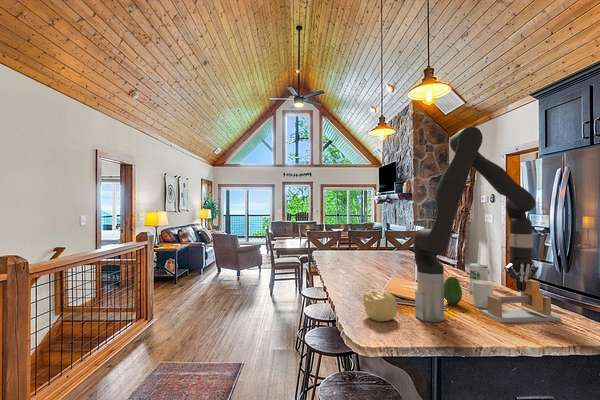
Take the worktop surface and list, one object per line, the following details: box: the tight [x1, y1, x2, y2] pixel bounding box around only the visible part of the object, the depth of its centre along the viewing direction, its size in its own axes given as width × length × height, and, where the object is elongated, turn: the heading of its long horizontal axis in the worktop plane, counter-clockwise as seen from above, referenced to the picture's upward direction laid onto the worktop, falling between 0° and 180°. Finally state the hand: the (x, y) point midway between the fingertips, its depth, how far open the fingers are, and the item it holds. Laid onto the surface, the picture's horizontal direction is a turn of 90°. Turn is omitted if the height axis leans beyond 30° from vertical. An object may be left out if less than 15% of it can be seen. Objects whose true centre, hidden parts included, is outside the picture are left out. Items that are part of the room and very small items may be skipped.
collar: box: [520, 279, 544, 311], centre depth 125 cm, size 3×7×10 cm, turn 6°
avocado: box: [444, 276, 463, 306], centre depth 140 cm, size 8×8×12 cm
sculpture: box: [362, 288, 398, 323], centre depth 121 cm, size 12×12×11 cm
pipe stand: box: [479, 295, 562, 323], centre depth 124 cm, size 24×11×8 cm, turn 96°
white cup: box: [472, 280, 494, 309], centre depth 138 cm, size 8×8×10 cm
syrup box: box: [468, 262, 489, 295], centre depth 156 cm, size 6×6×14 cm
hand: (521, 290), depth 125 cm, fingers closed
